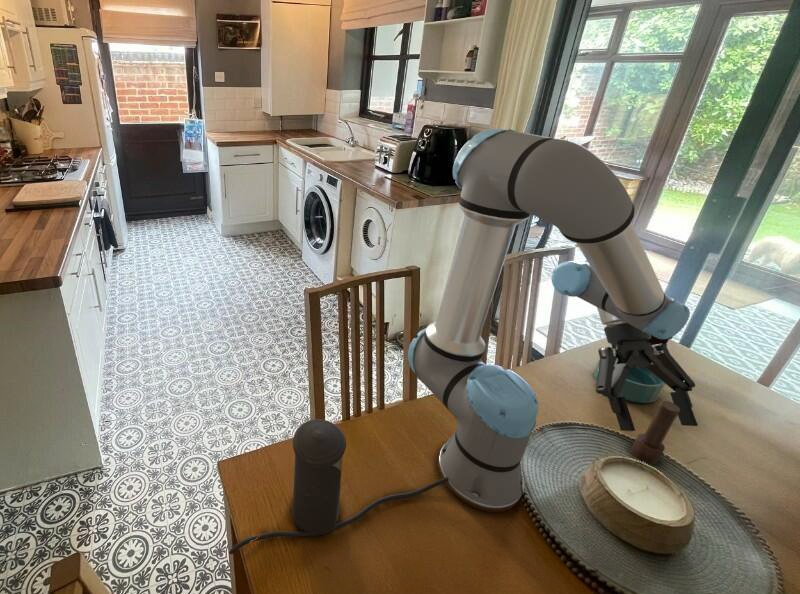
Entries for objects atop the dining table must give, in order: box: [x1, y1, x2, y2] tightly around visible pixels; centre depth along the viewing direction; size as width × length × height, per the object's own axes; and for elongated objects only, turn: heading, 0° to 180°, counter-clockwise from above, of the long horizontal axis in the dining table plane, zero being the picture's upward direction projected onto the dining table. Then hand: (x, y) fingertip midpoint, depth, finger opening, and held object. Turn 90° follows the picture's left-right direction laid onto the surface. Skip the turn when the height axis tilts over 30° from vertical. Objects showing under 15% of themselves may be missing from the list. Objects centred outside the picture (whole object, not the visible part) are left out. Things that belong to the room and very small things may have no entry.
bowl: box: [593, 356, 666, 404], centre depth 103 cm, size 13×13×6 cm
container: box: [291, 418, 347, 537], centre depth 70 cm, size 9×9×20 cm
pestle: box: [630, 400, 680, 466], centre depth 83 cm, size 4×4×14 cm
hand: (659, 428), depth 83 cm, fingers open, 13 cm apart
